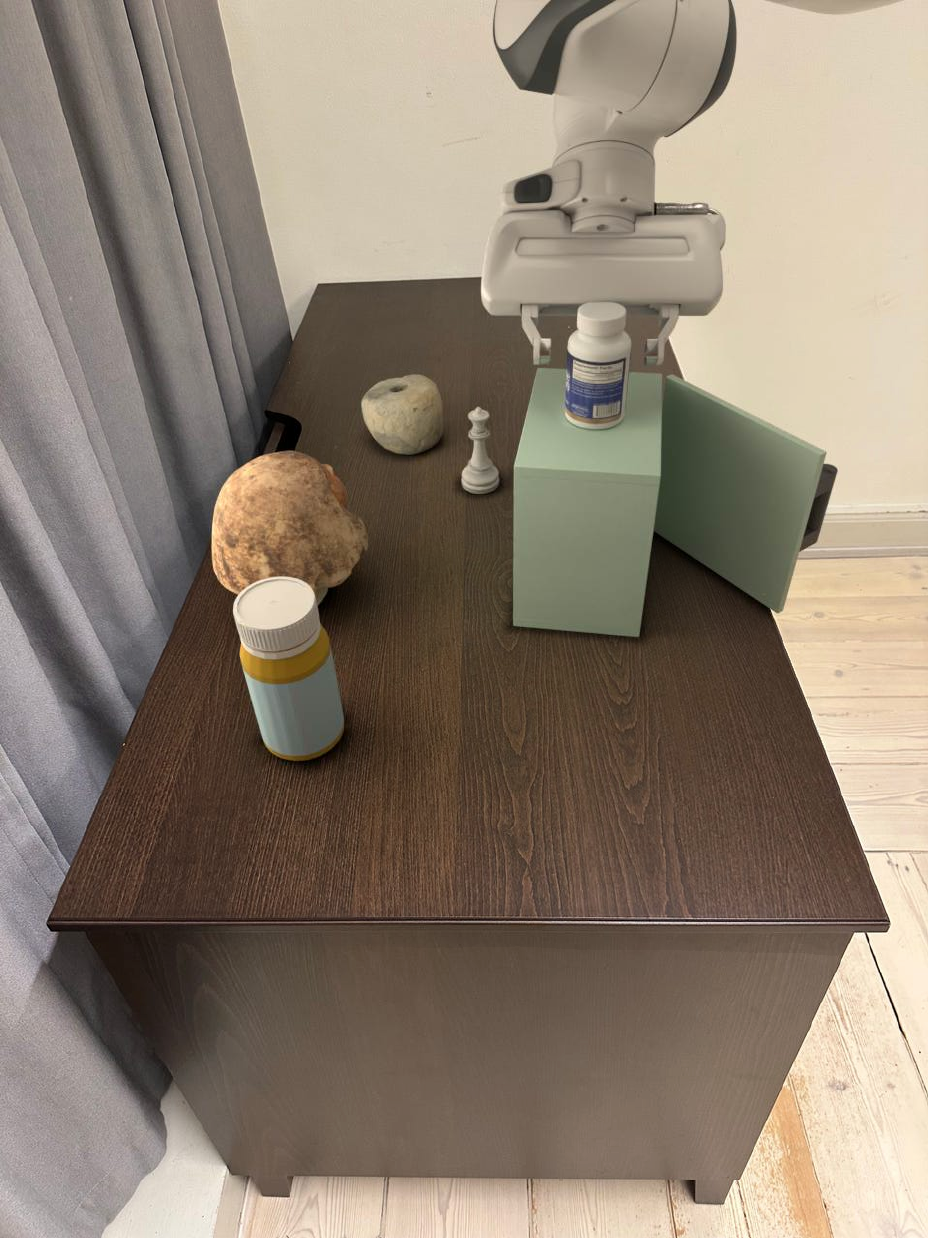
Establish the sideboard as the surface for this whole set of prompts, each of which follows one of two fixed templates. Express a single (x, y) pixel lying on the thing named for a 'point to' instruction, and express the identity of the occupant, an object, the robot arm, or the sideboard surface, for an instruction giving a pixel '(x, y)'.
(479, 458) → the chess piece
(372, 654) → the sideboard surface
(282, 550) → the tan rounded lump
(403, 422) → the stone
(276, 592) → the bottle
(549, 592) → the mini fridge
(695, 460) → the fridge door
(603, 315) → the pill bottle
